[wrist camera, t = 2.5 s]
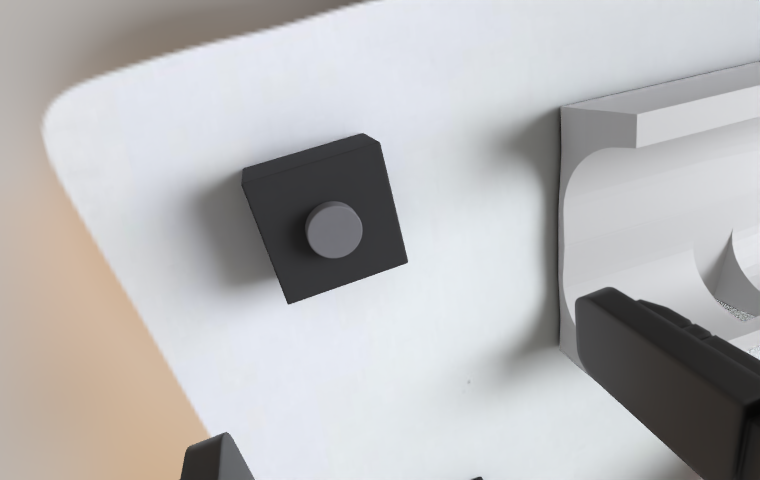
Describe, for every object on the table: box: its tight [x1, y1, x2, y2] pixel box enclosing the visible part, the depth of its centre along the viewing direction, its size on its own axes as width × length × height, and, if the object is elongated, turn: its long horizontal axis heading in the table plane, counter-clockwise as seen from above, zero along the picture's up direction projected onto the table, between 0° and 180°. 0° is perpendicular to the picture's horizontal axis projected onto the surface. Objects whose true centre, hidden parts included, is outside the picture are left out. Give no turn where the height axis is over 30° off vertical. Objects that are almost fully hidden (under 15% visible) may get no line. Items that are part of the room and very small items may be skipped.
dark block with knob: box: [242, 133, 408, 304], centre depth 20 cm, size 6×6×4 cm
